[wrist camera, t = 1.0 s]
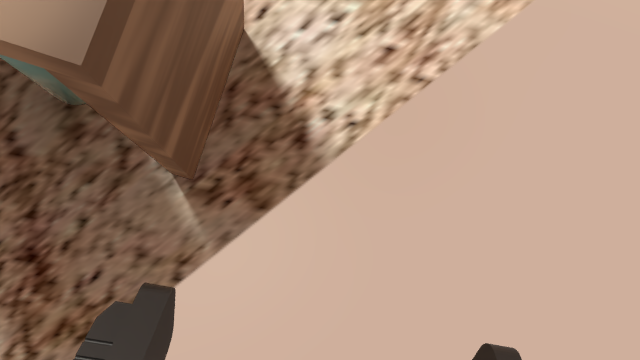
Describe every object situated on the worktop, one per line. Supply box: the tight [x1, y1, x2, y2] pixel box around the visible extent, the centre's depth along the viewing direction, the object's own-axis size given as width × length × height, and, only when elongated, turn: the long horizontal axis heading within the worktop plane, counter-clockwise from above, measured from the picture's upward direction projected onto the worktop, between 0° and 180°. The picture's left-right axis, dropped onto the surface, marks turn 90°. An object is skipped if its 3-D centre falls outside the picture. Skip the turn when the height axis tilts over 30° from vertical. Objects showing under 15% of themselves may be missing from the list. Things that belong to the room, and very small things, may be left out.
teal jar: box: [0, 55, 86, 105], centre depth 35 cm, size 5×5×14 cm
